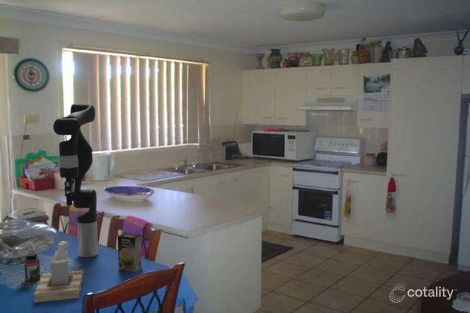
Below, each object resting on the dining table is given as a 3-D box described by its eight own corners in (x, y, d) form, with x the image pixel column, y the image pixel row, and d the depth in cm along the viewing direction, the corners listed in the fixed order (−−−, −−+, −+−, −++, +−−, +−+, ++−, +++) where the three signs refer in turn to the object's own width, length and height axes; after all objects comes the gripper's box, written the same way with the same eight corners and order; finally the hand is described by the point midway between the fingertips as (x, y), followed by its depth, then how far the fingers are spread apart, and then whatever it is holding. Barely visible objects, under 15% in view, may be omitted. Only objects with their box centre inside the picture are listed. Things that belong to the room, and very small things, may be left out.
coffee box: (117, 270, 198) (116, 236, 196) (124, 265, 204) (123, 232, 202) (135, 272, 196) (134, 237, 194) (142, 267, 202) (141, 233, 200)
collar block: (43, 281, 186) (43, 273, 185) (83, 277, 189) (82, 269, 189) (34, 302, 166) (34, 293, 166) (78, 297, 170) (78, 288, 170)
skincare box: (69, 286, 181) (68, 258, 179) (68, 290, 177) (66, 262, 175) (53, 288, 179) (52, 259, 178) (51, 292, 175) (50, 263, 173)
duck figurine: (59, 270, 203) (73, 251, 203) (44, 262, 201) (59, 242, 202) (63, 261, 215) (77, 243, 215) (50, 253, 213) (64, 235, 213)
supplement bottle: (25, 277, 190) (24, 252, 188) (40, 275, 192) (39, 250, 191) (24, 282, 184) (23, 257, 183) (40, 280, 186) (38, 255, 185)
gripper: (61, 163, 190) (63, 200, 192) (57, 168, 176) (58, 207, 178) (79, 163, 192) (81, 199, 194) (76, 167, 178) (78, 206, 180)
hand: (70, 203), depth 186 cm, fingers open, 8 cm apart
